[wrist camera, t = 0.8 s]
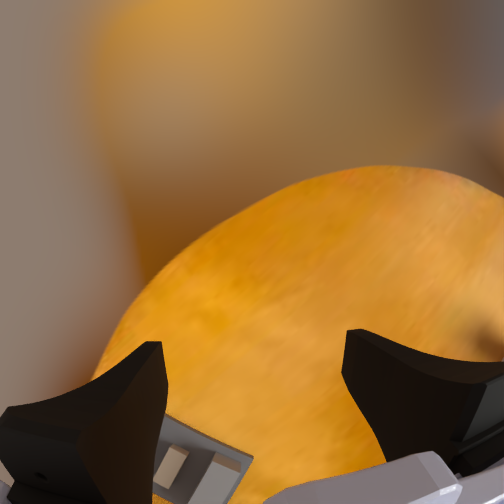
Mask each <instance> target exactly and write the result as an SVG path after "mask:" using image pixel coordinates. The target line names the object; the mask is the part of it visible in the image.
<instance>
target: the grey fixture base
mask: <svg viewBox="0 0 504 504" xmlns="http://www.w3.org/2000/svg"><path fill="white" fill-rule="evenodd" d="M253 459H254V458H253V456H252V455H250V454H247V453H245V452H242V451H240V450H238V449H235V448H233V447H231V446H229V445H226V444H224V443H222V442H220V441H218V440H216V439H214V438H211V437H209V436H207V435H205V434H203V433H201V432H199V431H197V430H195V429H193V428H191V427H189V426H188V425H186V424H184V423H182V422H180V421H178V420H176V419H175V418H173V417H171V416H169V415H167V414H166V413H165V414H164V419H163V423H162V427H161V431H160V435H159V440H158V444H157V448H156V454H155V462H154V474H153V493H155V494H156V495H158V496H160V497H162V498H164V499H166V500H168V501H170V502H172V503H174V504H227V503H228V501H229V500H230V498H231V497H232V495H233V493H234V492H235V490H236V488H237V487H238V485H239V483H240V482H241V480H242V478H243V477H244V475H245V473H246V471H247V470H248V468H249V466H250V464H251V463H252V461H253Z"/></svg>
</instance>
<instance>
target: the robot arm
mask: <svg viewBox="0 0 504 504" xmlns="http://www.w3.org/2000/svg"><path fill="white" fill-rule="evenodd" d="M341 373H342V376H343V378H344V381H345V383H346V386H347V388H348V390H349V392H350V394H351V396H352V397H353V399H354V401H355V402H356V404H357V406H358V407H359V409H360V410H361V412H362V414H363V415H364V417H365V418H366V420H367V422H368V423H369V425H370V427H371V428H372V430H373V432H374V434H375V436H376V438H377V440H378V442H379V444H380V447H381V449H382V451H383V454H384V456H385V459H386V461H387V463H384V464H381V465H378V466H374V467H371V468H367V469H363V470H360V471H356V472H352V473H348V474H343V475H339V476H334V477H330V478H325V479H320V480H315V481H310V482H306V483H303V484H300V485H296V486H293V487H289V488H286V489H284V490H282V491H280V492H279V493H277V494H275V495H274V496H272V497H270V498H268V499H267V500H266V501H264V502H263V504H504V362H470V361H461V360H454V359H448V358H443V357H439V356H434V355H430V354H427V353H423V352H420V351H417V350H415V349H412V348H409V347H406V346H404V345H401V344H399V343H396V342H394V341H391V340H389V339H387V338H384V337H382V336H380V335H377V334H375V333H372V332H370V331H367V330H364V329H354V330H347V334H346V342H345V350H344V358H343V365H342V371H341ZM167 396H168V380H167V374H166V368H165V362H164V355H163V348H162V342H161V341H146V342H144V343H143V344H142V345H140V346H139V347H138V348H137V349H136V350H134V351H133V352H132V353H131V354H129V355H128V356H127V357H126V358H124V359H123V360H122V361H121V362H119V363H118V364H117V365H115V366H114V367H113V368H111V369H110V370H108V371H107V372H105V373H104V374H103V375H101V376H99V377H98V378H96V379H95V380H93V381H91V382H89V383H87V384H85V385H84V386H82V387H80V388H77V389H75V390H72V391H70V392H67V393H65V394H63V395H60V396H57V397H54V398H51V399H47V400H44V401H40V402H35V403H30V404H24V405H18V406H10V407H8V408H7V409H6V410H5V412H4V413H3V414H2V416H1V417H0V460H1V462H2V463H3V465H4V466H5V468H6V469H7V471H8V472H9V473H10V475H11V476H12V477H13V479H14V480H15V481H14V483H13V485H12V487H10V486H9V485H7V484H6V483H5V482H3V481H1V480H0V504H152V492H153V474H154V462H155V454H156V448H157V444H158V440H159V435H160V431H161V427H162V423H163V419H164V414H165V410H166V406H167Z"/></svg>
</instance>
